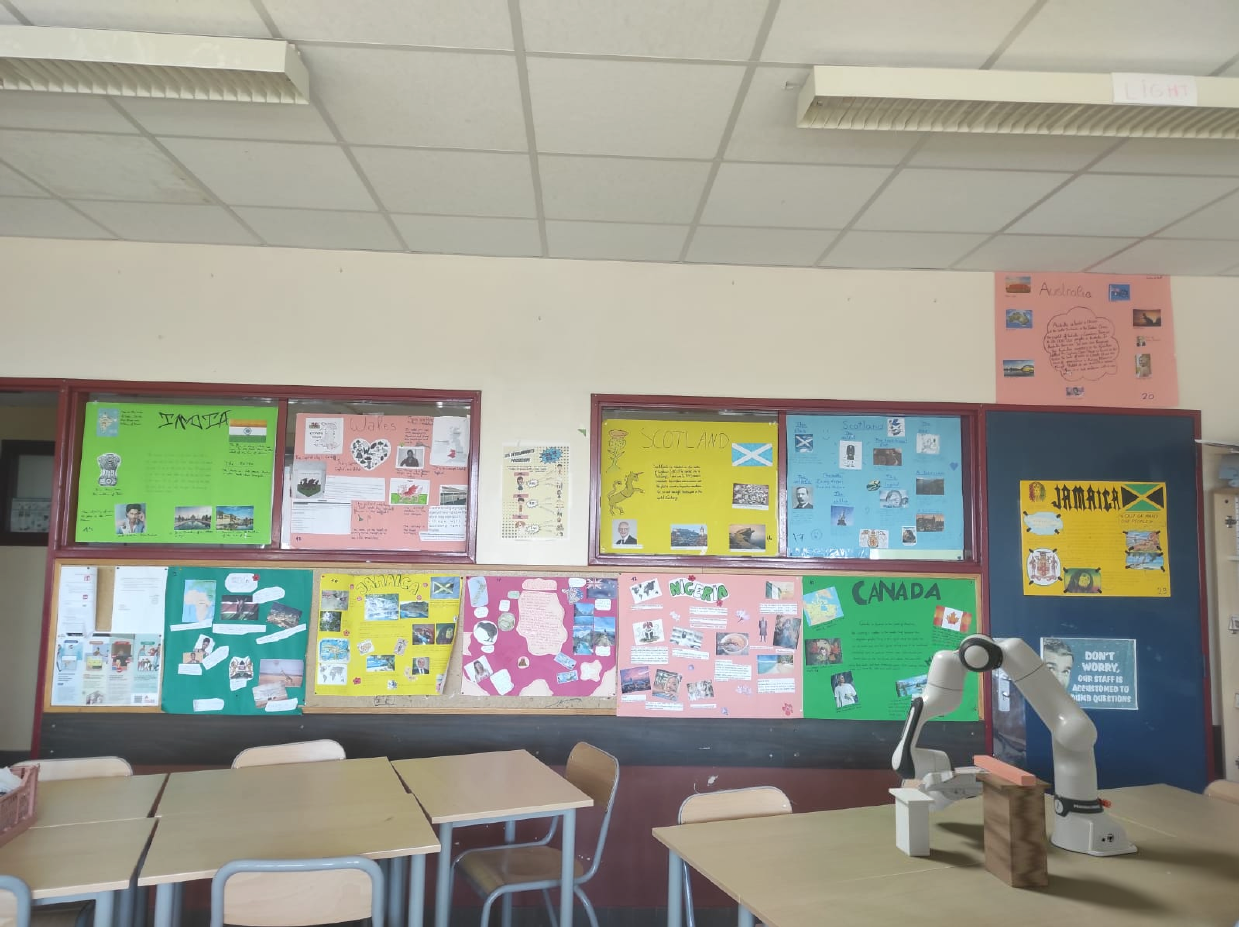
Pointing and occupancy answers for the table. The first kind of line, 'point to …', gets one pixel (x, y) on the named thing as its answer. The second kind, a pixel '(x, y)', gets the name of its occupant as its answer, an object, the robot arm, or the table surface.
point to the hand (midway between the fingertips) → (969, 773)
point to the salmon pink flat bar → (1005, 770)
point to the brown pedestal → (1014, 830)
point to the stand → (912, 821)
